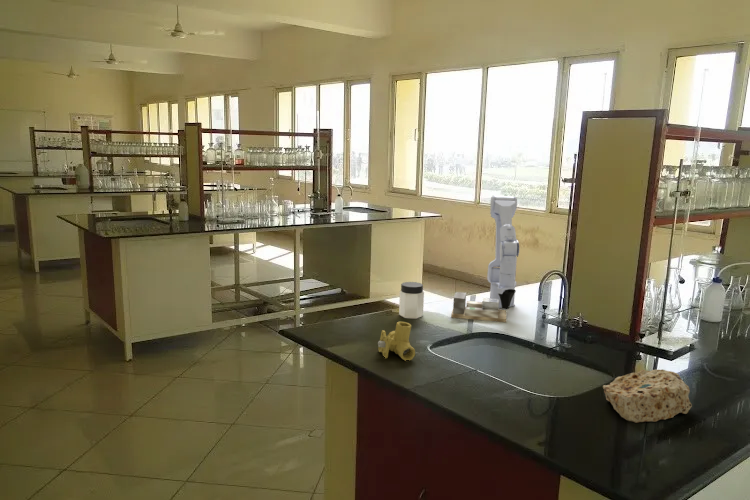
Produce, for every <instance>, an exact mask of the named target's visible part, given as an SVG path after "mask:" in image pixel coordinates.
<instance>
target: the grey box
mask: <svg viewBox="0 0 750 500" xmlns="http://www.w3.org/2000/svg"><path fill="white" fill-rule="evenodd" d="M481 302H482V309H497V310H498V309H499V310H500V308H499V299H493V298H490V297H482V300H481Z"/></svg>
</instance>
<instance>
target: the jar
mask: <svg viewBox="0 0 750 500" xmlns="http://www.w3.org/2000/svg"><path fill="white" fill-rule="evenodd" d="M400 287H401V288H400V291H399V303H398V305H399V310H398V315H399V316H401V317H403V318H404V319H414V320H415V319H420V317H421V318H422V317H423V316H424V301H425V300H424V298H425V292H424V284H422V283H421V282H417V281H406V282H405V281H404V282H402V283H401V284H400Z"/></svg>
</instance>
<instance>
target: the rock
mask: <svg viewBox="0 0 750 500" xmlns="http://www.w3.org/2000/svg"><path fill="white" fill-rule="evenodd" d="M602 388H603V393H604V394H605V395H604V396H605V399H606V401H608V402H610V404H611V406H612V407H613V410H615V412H617V414H619V416H620V417H621V418H623V419H624V420H626V421H628V422H633V423H634V424H635V423H636V424H638V423H644V422H654V423H656V422H658V421H660V420H668V419H671V418H674V416H676V415H678V414H683V415H686V414H688V413H689V411H690V410H691V408H692V407H693V405H692V403H691V401H690V398H689V395H690V392H691V391H690V387H689V385H687V384H686V383H685V381H683V379H682V378H681V376H680V375H679V373H677V372H675V371H672V370H670V371H669V370H666V369H653V370H651V371H650V370H646V369H642V370H640V371H637V372H631V373H627V374H625V375H622V376H617V377H616V378H614V380H613V381H612V382H610V383H609V384H607V385H606V384H605V385H604V384H603V385H602Z"/></svg>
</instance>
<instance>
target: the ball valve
mask: <svg viewBox="0 0 750 500" xmlns="http://www.w3.org/2000/svg"><path fill="white" fill-rule="evenodd" d="M411 329H412V324H411V323H409V322H406V321H398V322H396V325H395V330H392V331H390V332H389V333H388V334H387V332H386V331H385V329H384V330H383V329H382V330H381V333H380V338H379V340H378V342H377V345H378V346H377V347H378V349H377V350H378V352H379V353H382V356H384V357H385V358H384V357H383V358H384V359H388V357H389V352H390V351H391V352H394V353H395V354H396V355H398V356H399V357H400V358H401V359H402V360H404V361H405V362H407V361H406V360H409V361H412V360H413V359H414V357H415V356H416V350H415V348H414V347H413V346H412V345H411V342H410V340H409V339H410V335H411Z"/></svg>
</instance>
